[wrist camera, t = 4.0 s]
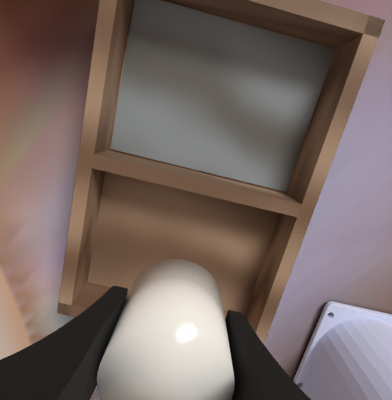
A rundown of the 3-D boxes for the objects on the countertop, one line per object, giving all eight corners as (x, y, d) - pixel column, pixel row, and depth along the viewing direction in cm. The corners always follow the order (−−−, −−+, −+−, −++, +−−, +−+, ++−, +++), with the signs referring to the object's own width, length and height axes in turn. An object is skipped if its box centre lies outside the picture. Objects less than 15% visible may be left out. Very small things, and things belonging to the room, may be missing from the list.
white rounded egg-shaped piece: (208, 347, 14) (214, 446, 9) (122, 329, 13) (87, 423, 9) (232, 270, 13) (251, 343, 8) (138, 249, 12) (109, 314, 8)
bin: (250, 318, 22) (260, 354, 18) (79, 282, 21) (57, 313, 18) (346, 41, 17) (384, 20, 13) (126, -22, 16) (108, -62, 12)
